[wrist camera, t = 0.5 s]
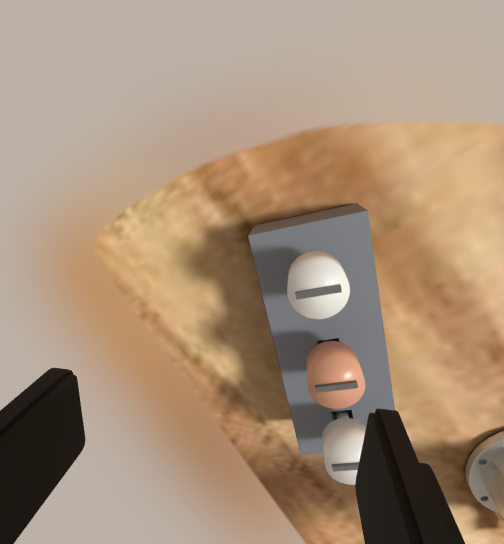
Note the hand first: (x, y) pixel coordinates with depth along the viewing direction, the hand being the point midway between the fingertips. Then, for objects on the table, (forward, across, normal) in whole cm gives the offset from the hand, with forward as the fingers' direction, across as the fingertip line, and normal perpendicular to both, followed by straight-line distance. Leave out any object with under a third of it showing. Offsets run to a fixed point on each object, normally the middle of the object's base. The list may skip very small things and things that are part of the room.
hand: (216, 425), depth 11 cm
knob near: (+21, -4, +1) cm, 21 cm away
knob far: (+21, -9, +16) cm, 28 cm away
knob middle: (+21, -6, +8) cm, 23 cm away
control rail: (+25, -6, +8) cm, 27 cm away
